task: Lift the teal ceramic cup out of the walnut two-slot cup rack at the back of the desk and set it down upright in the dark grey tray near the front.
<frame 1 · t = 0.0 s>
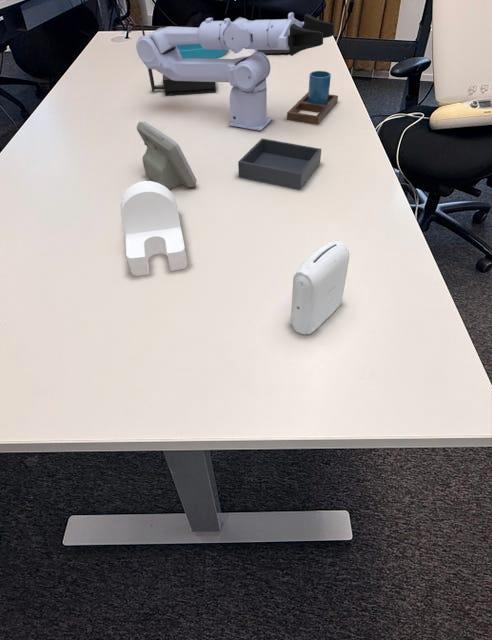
hand: (328, 34, 97), 22 cm above the table, tool horizontal, fingers open, 7 cm apart
cup: (317, 105, 127), resting in rack
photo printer: (316, 316, 70), on the table
digital clock: (171, 178, 100), on the table
dark grey tray: (280, 170, 102), on the table
wireless controller: (183, 87, 139), on the table
rack: (312, 110, 124), on the table
bracket: (156, 243, 84), on the table
teal round tray: (188, 51, 164), on the table
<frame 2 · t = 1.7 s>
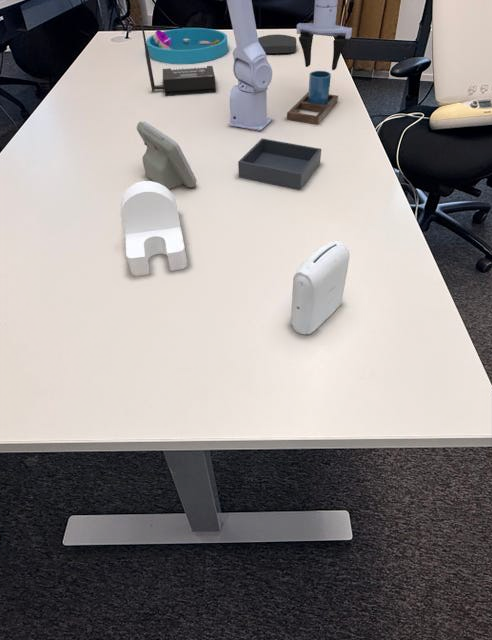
hand: (320, 67, 119), 10 cm above the table, tool pointing down, fingers open, 7 cm apart
nothing on the table moved.
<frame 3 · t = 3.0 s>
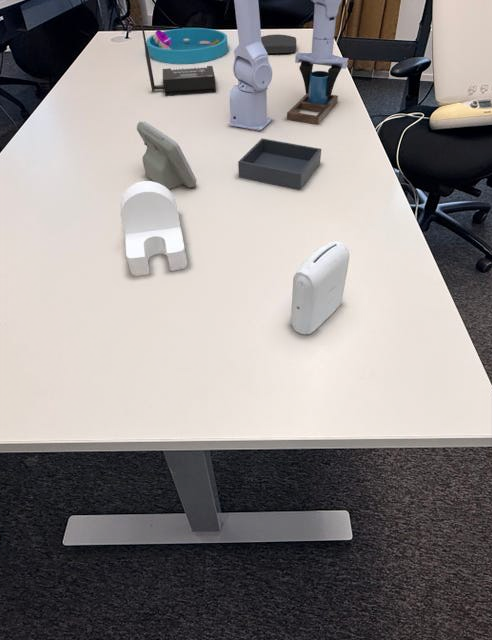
hand: (318, 94, 125), 3 cm above the table, tool pointing down, fingers closed on cup, 6 cm apart
cup: (317, 105, 127), resting in rack, touching gripper
everything else where it was.
when the fingers open (4 cm above the table, at t = 9.3 s): cup stays where it is, resting on dark grey tray.
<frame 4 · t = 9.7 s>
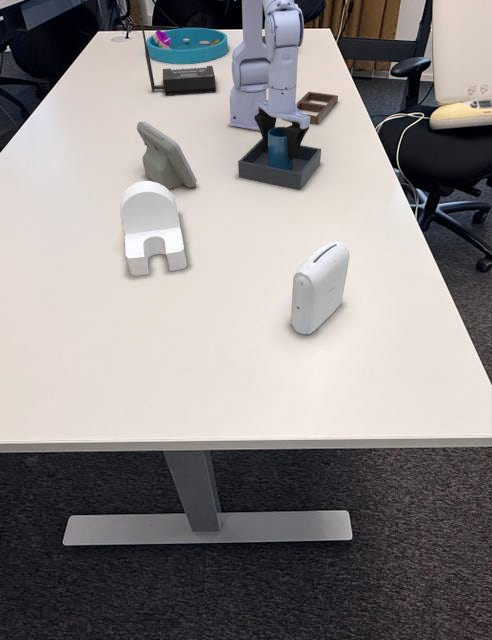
hand: (280, 152, 98), 4 cm above the table, tool pointing down, fingers open, 7 cm apart
cup: (280, 167, 101), point 1 cm above the table, touching dark grey tray
everything else where it was.
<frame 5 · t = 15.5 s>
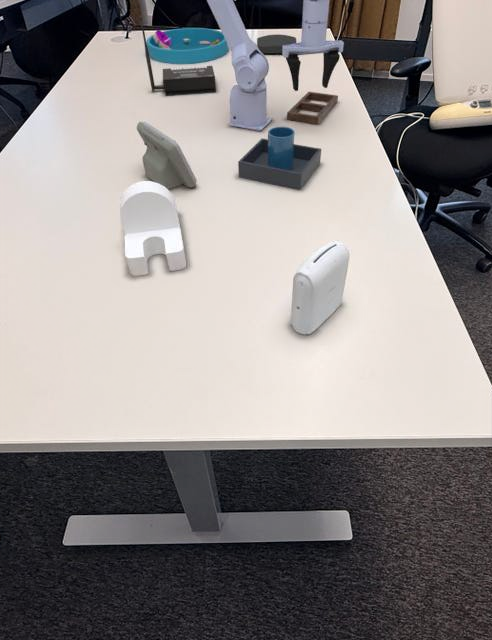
hand: (310, 88, 109), 10 cm above the table, tool pointing down, fingers open, 7 cm apart
nothing on the table moved.
at the end: cup inside the target area in the dark grey tray (0.0 cm from its centre), point 0.6 cm above the dark grey tray's base; cup tilted 0°; the gripper is holding nothing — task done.
